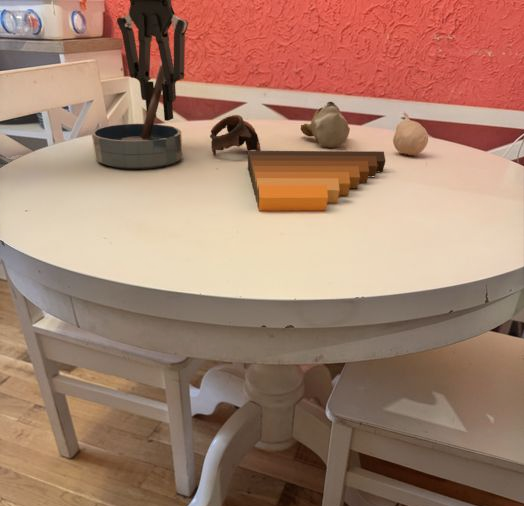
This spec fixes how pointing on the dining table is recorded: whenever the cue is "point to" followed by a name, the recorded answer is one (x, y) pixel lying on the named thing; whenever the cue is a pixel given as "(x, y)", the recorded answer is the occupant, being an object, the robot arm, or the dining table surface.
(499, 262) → the dining table surface
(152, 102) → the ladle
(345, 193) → the pan flute
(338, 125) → the ceramic sculpture
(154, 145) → the bowl
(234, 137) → the brown hollow curved piece
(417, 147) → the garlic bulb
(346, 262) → the dining table surface
